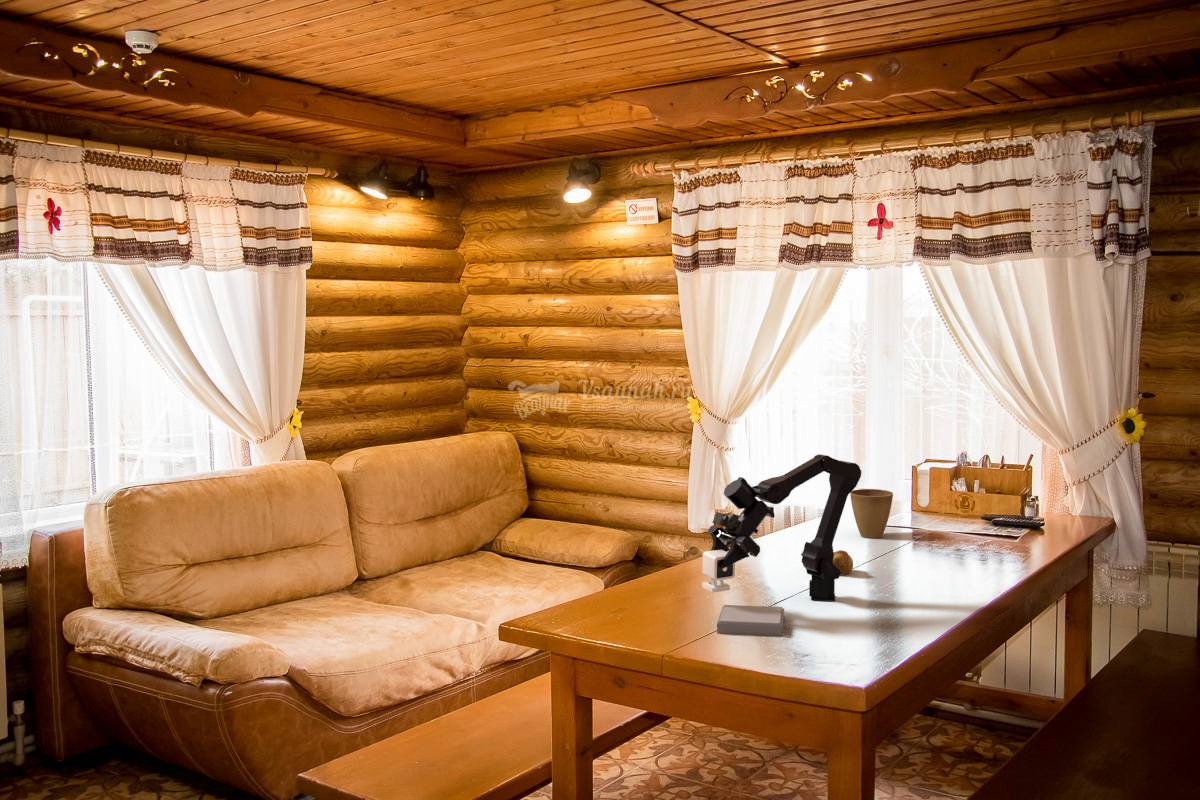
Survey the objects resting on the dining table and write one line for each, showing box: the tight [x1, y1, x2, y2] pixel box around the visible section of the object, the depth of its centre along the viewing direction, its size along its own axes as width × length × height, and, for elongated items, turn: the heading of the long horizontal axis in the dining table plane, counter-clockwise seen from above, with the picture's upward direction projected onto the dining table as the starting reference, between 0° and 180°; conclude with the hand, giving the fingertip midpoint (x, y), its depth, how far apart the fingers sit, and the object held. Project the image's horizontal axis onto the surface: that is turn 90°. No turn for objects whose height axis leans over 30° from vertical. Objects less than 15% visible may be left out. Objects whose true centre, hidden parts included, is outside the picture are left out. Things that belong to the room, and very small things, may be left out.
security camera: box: [701, 550, 736, 594], centre depth 280 cm, size 6×7×10 cm
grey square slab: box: [716, 604, 785, 637], centre depth 269 cm, size 16×16×3 cm
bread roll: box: [833, 549, 854, 576], centre depth 323 cm, size 13×10×8 cm
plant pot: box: [849, 488, 894, 539], centre depth 374 cm, size 15×15×16 cm
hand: (714, 565), depth 278 cm, fingers closed on security camera, 6 cm apart
